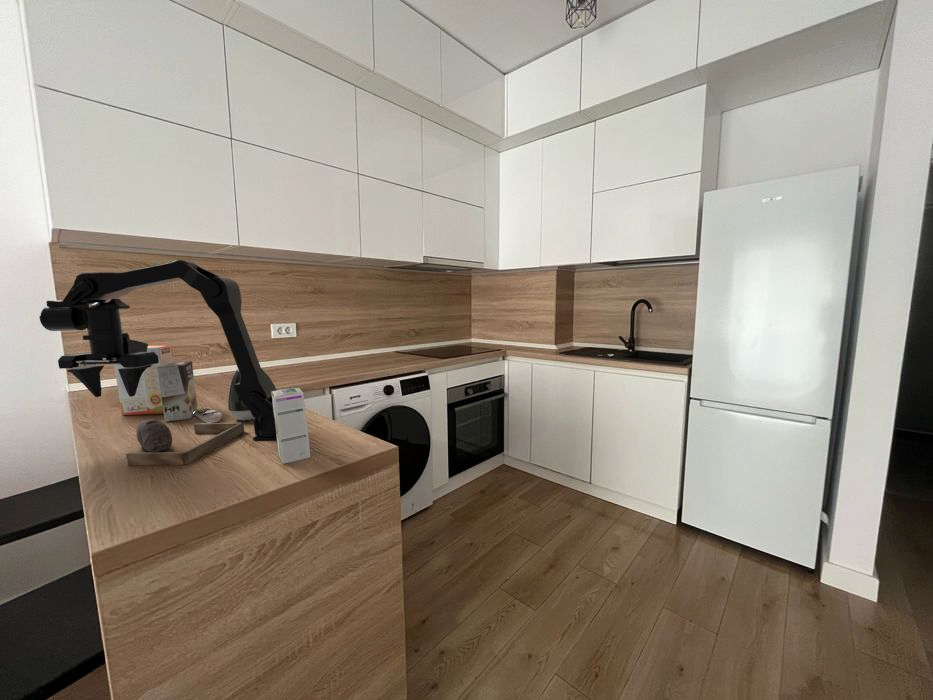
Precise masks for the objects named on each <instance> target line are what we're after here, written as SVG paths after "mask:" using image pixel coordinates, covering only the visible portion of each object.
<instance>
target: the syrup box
mask: <svg viewBox="0 0 933 700" xmlns="http://www.w3.org/2000/svg"><path fill="white" fill-rule="evenodd" d="M272 402H273V411H274V419H275V427H276V435H277V440H276V443H277V451H278V457H279V460H280V462H281V464H282V465H284V464H290V463H294V462H299V461H302V460H307V459H310V458H311V451H310V449H311V448H310V440H309V438H310V437H309V430H308V422H307V414H306V405H305V396H304V392H303V391H302V390H301V388H300V387H287V388H281V389H276V391H272Z"/></svg>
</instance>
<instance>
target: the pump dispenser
mask: <svg viewBox="0 0 933 700" xmlns="http://www.w3.org/2000/svg"><path fill="white" fill-rule="evenodd" d="M239 382H240V373H239V370H238V368H237V369H236V370H235V372H234V373H233V375H232V379H231V380H230V385H229V389H228V396H227V409H228V410H229V412H230V414H231V416H233V418H234V419H236V420H238V421H242V420H243V422H245V420H248V421H253V420H252V419H255V417H253V416H252V414H251V412H250V410H249V408H247V407H245V406H244V405H243V403H242V401H240V402H239V401H238V400H239V397H238V394H237V392H236V390H235V388H234V385H235V384H237V383H239Z"/></svg>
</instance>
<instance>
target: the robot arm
mask: <svg viewBox="0 0 933 700" xmlns="http://www.w3.org/2000/svg"><path fill="white" fill-rule="evenodd" d="M181 280H182V281H183V282H184V283H185V284H187V285H188V286H189V287H191V288H192V289H194V290H196V291H197V292H199V293H200V295H201V297H202V299H203V300H204V302H205V303H206V305H207V307H208V308H209V309H210V310H211V311H212V312H213V313H214V314H215V316H216V317H218V319H219V322H220V325H221V328H222V330H223V333H224V335H225V337H226V341H227V343H228V346H229V349H230V351H231V355H232V356H233V359H234V361H235V365H236V367H237V369H238V370H239V373H240V382H239V383H237V384H235V385H234V388H235V390H236V392H237V394H238V397H239V400H238V401H239V402H240V401H242V403H243V405H244V406H245V407H247V408H249V410H250V412H251V414H252V416H253V417H255V419H254V420H252V421H253V428H254V430H253V431H254V435H255V436H254V437H253V438H252V440H253V441H264V440H265V441H271V440H272V441H275V440H276V441H277V435H276V427H275V419H274V411H273V402H272V391H276V390H277V387H276V386H275V383H274V382H273V381H272V379H271V378H270V376H269V375H268V374H267V373H266V372H265V371H264V369H263V368H262V367H261V364H260V362H259V358H258V357H257V353H256V351H255V347H254V345H253V343H252V340H251V338H250V334H249V332H248V329H247V326H246V324H245V321H244V318H243V316H242V295H241V290H240V289H241V288H240V286H239V284H238V283H237V282H236V281H235V280H233V279H231V278H227V277H221V276H219V274H218V275H217V274H216V273H213V272H212V271H210V270H206V269H205V268H203V267H202V266H199V265H197V264H196V263H194V262H193V261H190V260H184V259H176V260H173V261H170V262H166V263H160V264H156V265H152V266H146V267H141V268H136V269H130V270H125V271H121V272H120V271H119V272H118V271H117V272H116V271H115V272H108V271H107V272H104V271H102V272H81V273H79V274H78V275H76V276H75V280H73V281H74V283H73V285H72V286H71V288H70V289H69V291H68V293H67V294H66V295H65V297H64V298H63V300H46V302H45V303H46V306H45V307H43V309H42V310H41V312H40V315H39V321H40V325H41V326H42V327H43V328H44V329H46V331H47V330H48V331H50V332H66V331H67V332H70V331H71V332H72V331H73V332H74V331H84V330H87V334H84V335H82V339H83V340H82V341H88V343H89V348H90V352H82V353H81V352H80V353H74V354H73V353H72V354H67V355H61V356H60V357H59V358H58V359H57V363H58V364H57V365H58V369H59V370H63V369H67V373H71V375H73V376H74V377H75V378H77V380H78V381H79V382H81V384H82V385H84V387H85V388H86V389H87V390H88V391H89V392H90V393H91V394H92V395H93V396H94V397H95V398H99V397H101V396H102V384H101V383H102V382H101V372H102V370H103V369H104V366H105V365H114V364H121V365H122V366H123V367H126V368H122V369H118V371H119V373H120V376H121V378H122V381H123V384H124V386H125V389H126V391H127V393H128V395H129V397H132V396H135V394H136V391H137V387H138V384H139V381H140V378H141V376H142V373H143V372H144V371H145V370H146V369H147V368H149V367H151V366H152V364H156V363H159V359H158V355H157V354H156V353H155V352H147V348H148V346H149V343H147V342H143V341H139V340H136V339H135V340H134V339H130V335H129V334H128V333H129V332H123V328H122V320H121V314H120V310H129V309H130V308H131V306H130V305H128V304H126V302H123V301H122V300H121V299H120V297H123V296H126V295H128V294H129V293H131V292H132V291H135V290H137V289H142V288H146V287H151V286H157V285H162V284H166V283H171V282H176V281H181ZM107 301H108V302H107ZM90 305H91V306H90Z"/></svg>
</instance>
